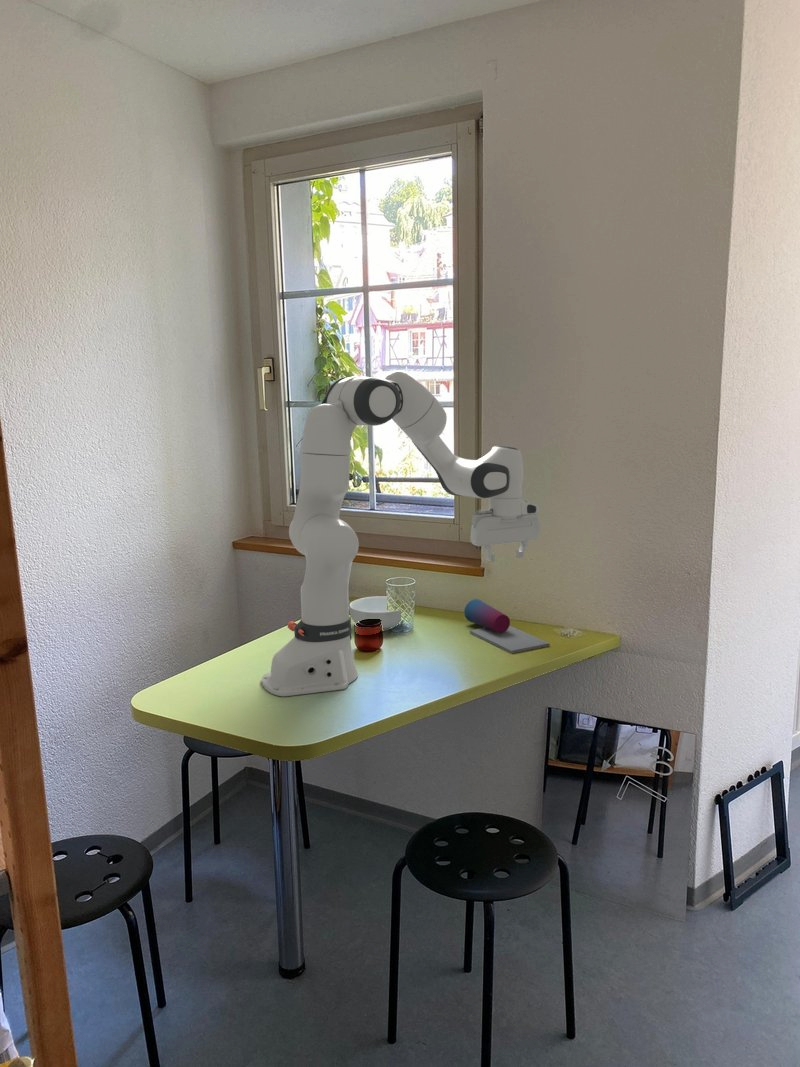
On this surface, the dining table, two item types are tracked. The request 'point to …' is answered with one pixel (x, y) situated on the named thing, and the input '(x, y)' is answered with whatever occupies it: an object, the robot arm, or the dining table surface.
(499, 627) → the cup
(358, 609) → the cereal bowl
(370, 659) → the dining table surface
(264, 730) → the dining table surface
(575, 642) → the dining table surface
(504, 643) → the mat
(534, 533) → the robot arm
